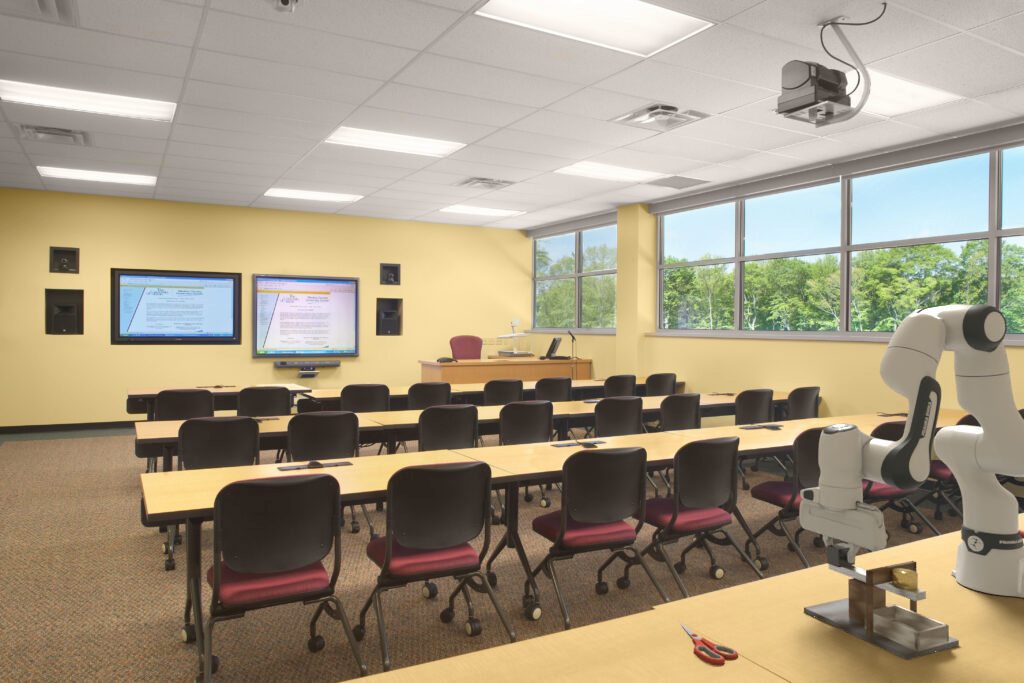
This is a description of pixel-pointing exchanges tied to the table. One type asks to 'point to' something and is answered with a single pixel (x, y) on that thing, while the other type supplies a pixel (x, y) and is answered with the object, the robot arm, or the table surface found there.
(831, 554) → the steel shaft
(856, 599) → the shaft stand
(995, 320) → the robot arm
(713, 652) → the scissors
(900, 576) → the brass spacer
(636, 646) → the table surface
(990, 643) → the table surface
